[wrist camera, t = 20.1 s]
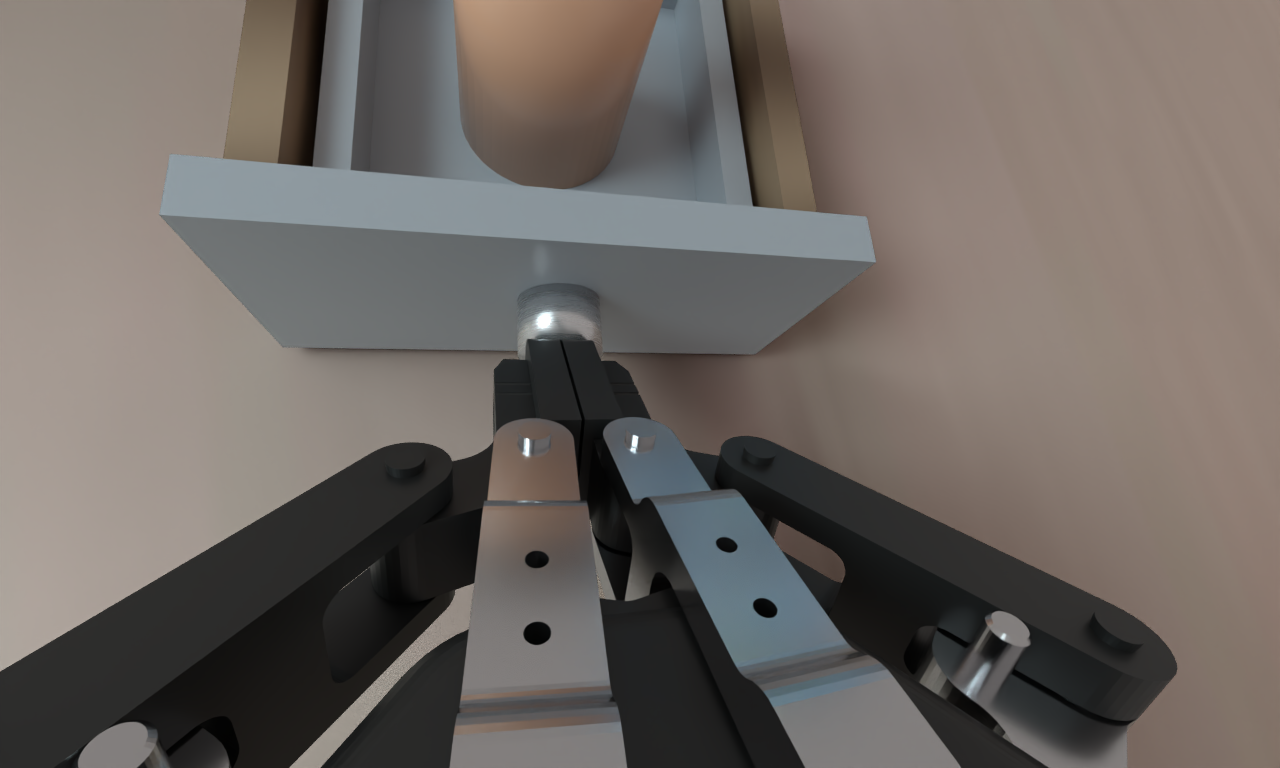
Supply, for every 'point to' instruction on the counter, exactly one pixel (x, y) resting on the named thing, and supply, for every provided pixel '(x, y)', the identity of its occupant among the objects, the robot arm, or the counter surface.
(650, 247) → the grey drawer
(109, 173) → the counter surface
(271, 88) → the wooden drawer box
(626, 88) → the spice jar
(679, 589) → the robot arm
